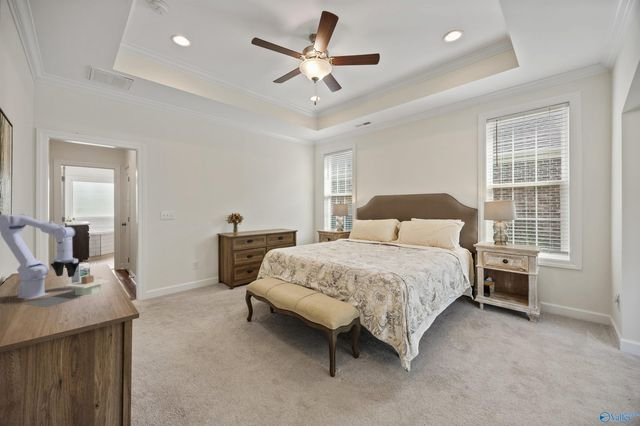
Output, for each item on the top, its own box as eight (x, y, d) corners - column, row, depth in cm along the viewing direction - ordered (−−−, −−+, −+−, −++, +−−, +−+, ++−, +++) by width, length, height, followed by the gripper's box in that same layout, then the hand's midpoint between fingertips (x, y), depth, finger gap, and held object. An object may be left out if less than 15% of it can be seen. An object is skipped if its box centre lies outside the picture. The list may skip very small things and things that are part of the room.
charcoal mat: (21, 304, 123) (21, 304, 123) (57, 295, 137) (57, 294, 137) (48, 308, 120) (48, 307, 120) (81, 297, 133) (81, 297, 133)
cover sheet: (64, 286, 136) (64, 278, 136) (90, 279, 148) (90, 272, 148) (84, 288, 133) (84, 280, 133) (109, 281, 146) (109, 274, 146)
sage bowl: (70, 294, 137) (70, 285, 137) (90, 289, 147) (90, 280, 147) (85, 296, 135) (85, 286, 135) (104, 290, 145) (104, 281, 145)
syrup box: (79, 290, 145) (79, 264, 145) (71, 289, 146) (71, 263, 146) (90, 287, 151) (90, 262, 150) (82, 286, 152) (82, 261, 152)
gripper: (44, 251, 133) (45, 277, 133) (66, 252, 130) (67, 279, 130) (60, 249, 140) (61, 274, 140) (82, 249, 137) (82, 275, 137)
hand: (65, 276), depth 135 cm, fingers open, 7 cm apart
